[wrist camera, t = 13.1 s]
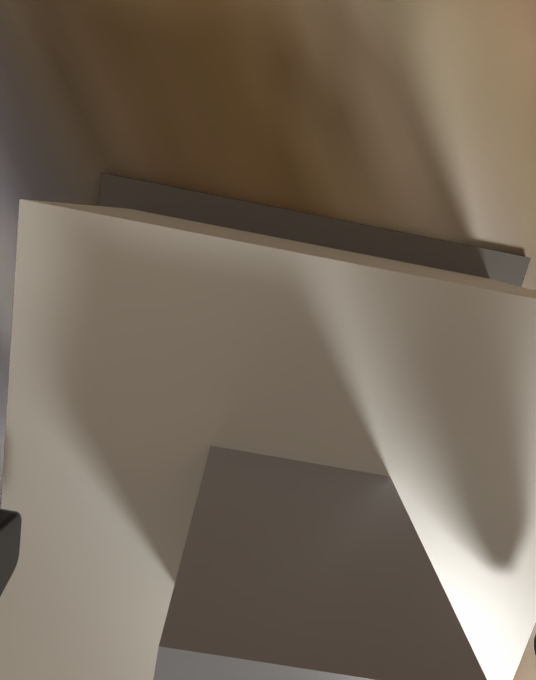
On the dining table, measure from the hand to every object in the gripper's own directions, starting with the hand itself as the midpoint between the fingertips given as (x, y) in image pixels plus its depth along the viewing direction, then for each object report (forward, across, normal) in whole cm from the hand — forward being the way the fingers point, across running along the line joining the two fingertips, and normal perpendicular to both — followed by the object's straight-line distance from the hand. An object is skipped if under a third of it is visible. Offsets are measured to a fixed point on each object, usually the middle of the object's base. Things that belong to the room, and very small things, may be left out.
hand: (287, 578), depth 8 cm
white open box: (+7, 0, 0) cm, 7 cm away
